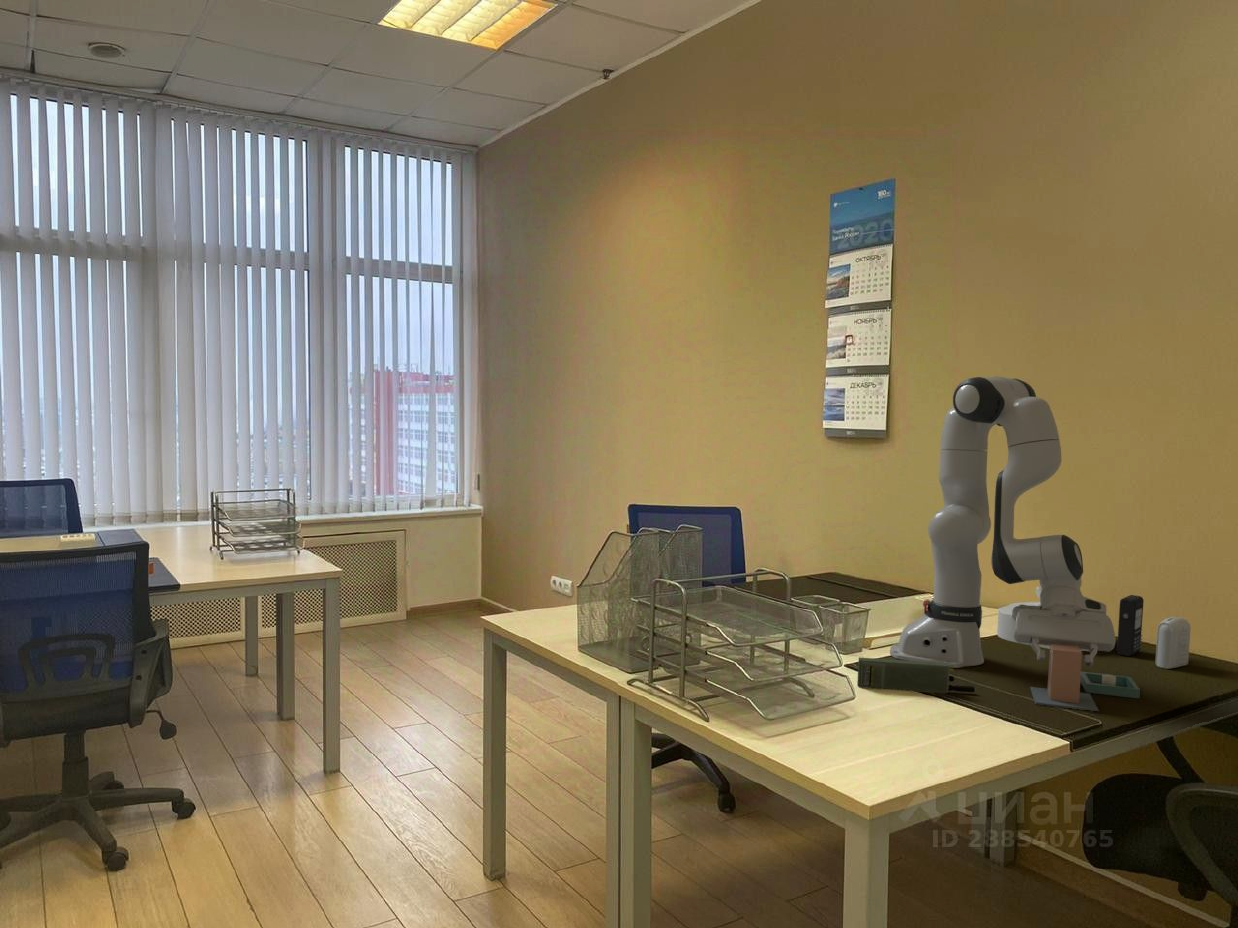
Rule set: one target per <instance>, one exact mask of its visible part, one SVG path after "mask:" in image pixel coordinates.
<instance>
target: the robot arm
mask: <svg viewBox="0 0 1238 928" xmlns="http://www.w3.org/2000/svg"><path fill="white" fill-rule="evenodd" d="M952 405H953V407H952V408H950V409H949V410H948V411H947V412H946V415H945V417H944V421H943V426H942V430H941V436H940V437H941V438H940V450H939V474H938V479H939V483H940V487H941V490H942V491H941V492H942V497H943V508H942V509H940V510H938V511H936V513H935V514H934V515H933V516H932V518H931V520H930V522H929V523H928V527H927V531H928V536H929V539H930V540H931V550H932V551H931V552H932V558H933V564H934V565H933V566H934V578H933V600H930V599H929V598H928V599H924V600H923V602H922V606H923V607H924V609H923V611H924V615H922V616H921V617H920V616H919V618H917V619H915V620H914V621H912V622H910V623H909V624H907V625H906V626H905V627H904V628H903V629H902V632H901V634H900V636H899V641H898V642H897V643H894V644H892V645H891V646H890V649H889V654H890V656H891V657H893V658H895V659H896V660H908V661H924V662H941V663H953V664H954V666H950V668H953V669H954V668H955V669H959V668H964V667H972V666H979V665H982V664H984V663H985V659H984V656H983V652H982V644H981V643H982V642H981V631H980V629H981V626H982V622H983V621H982V619H983V609H982V608H983V607H982V605H981V596H982V595H981V593H982V592H981V591H982V571H981V569H980V561H979V553H978V545H979V544H981V543H982V542H983V541H985V540H986V539H987V537H988V535H989V533H990V532H991V528H992V527H991V526H992V520H991V517H990V506H989V503H990V502H989V494H988V488H987V474H988V472H987V470H988V449H989V447H988V446H989V443H988V441H989V440H988V439H989V433H990V431H991V429H992V428H993V427H994V426H998V427H1002V429H1003V430H1004V432H1005V437H1006V443H1007V445H1006V446H1007V450H1008V451H1007V452H1008V455H1007V456H1008V457H1007V462H1006V465H1005V467H1004V469H1002V470H1001V471H1000V472H999V473H998V475H997V477H996V478H997V479H996V481H995V482H996V484H995V495H994V513H993V515H994V516H993V520H994V521H993V523H994V524H993V539H992V541H993V542H992V552H991V558H990V560H991V561H990V563H991V569H992V571H993V574H994V575H995V576H996V578H998V579H999V580H1001V581H1002V582H1005V583H1006V584H1008V585H1013V584H1020V583H1024V582H1028V581H1039V587H1040V588H1042V591H1041V594H1040V599H1039V602H1040V606H1028V605H1019V606H1016V607H1014V608H1013V610H1012V616H1013V619H1014V620H1015V621H1016V622H1015V629H1014V639H1015V640H1016V641H1017V642H1020V643H1019V644H1021V643H1030V644H1031V645H1030V646H1031V647H1030V648H1031V649H1032V650H1033V652H1034V653H1035V654H1036V660H1037V661H1042V662H1043V661H1045V659H1046V650H1045V649H1044V650H1043V649H1041V647H1039V646H1038V645H1039V644H1040V645H1050V644H1059V645H1069V646H1078V647H1079V648H1080V649H1088V650H1089V651H1088V652H1089V653H1090V654H1085V655H1084V658H1083V659H1084V660H1083V661H1084V666H1087V667H1093V666H1094V658H1095V656H1096V655H1097V653H1098V651H1100V652H1111V651H1112V650H1114V648H1115V645H1116V643H1117V642H1116V640H1117V639H1116V632H1115V629H1114V625H1113V622H1112V619H1111V618H1110V616H1109V615H1107V605H1106V604H1105V603H1104V602H1101V601H1097V600H1094V599H1091V598H1089V597H1086V596H1084V595H1083V593H1082V591H1081V586H1082V583H1083V582H1082V575H1083V574H1084V563H1083V556H1082V551H1081V548H1080V546H1079V544H1078V543H1077V542H1076V541H1074V540H1073V539H1072V538H1071V537H1069V536H1068V535H1065V534H1055V535H1054V534H1053V535H1044V536H1043V535H1042V536H1039V537H1030V538H1021V539H1020V538H1018V539H1017V538H1015V537H1014V533H1015V532H1014V528H1015V526H1014V525H1015V505H1016V503H1017V501H1018V499H1019V498H1020V497H1021V496H1022V495H1023V494H1024V493H1026V492H1028V491H1029V490H1031V489H1033V488H1035V487H1037V486H1039V485H1040V484H1043V483H1044V482H1047V480H1049V479H1051V478H1052V477H1053V476H1054V475H1055V474H1056V472H1058V470H1059V469H1060V468H1061V467H1060V466H1061V465H1062V447H1061V440H1060V435H1059V431H1058V427H1057V423H1056V419H1055V417H1054V414H1053V411H1052V409H1051V407H1050V405H1049V403H1048V402H1047V401H1046V400H1045V399H1044V398H1041V397H1038V396H1036V392H1035V389H1034V388H1033V386H1031V385H1030V384H1029V383H1027V382H1025V381H1024V380H1021V379H1017V378H1009V377H1004V376H1003V377H1002V376H990V377H989V376H988V377H987V376H986V377H982V376H981V377H980V376H977V377H971V378H967V379H965V380H963V381H962V382H960V383H959V384H958V385H957V387H956V388H955V389H954V392H953V397H952Z"/></svg>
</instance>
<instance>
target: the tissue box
mask: <svg viewBox="0 0 1238 928" xmlns="http://www.w3.org/2000/svg"><path fill="white" fill-rule="evenodd" d="M1041 591H1042V588H1041V586H1040V585H1038V586H1036V587H1035V592H1036V596H1037V598H1038V599H1039V600H1040V594H1041ZM1019 605H1028V606H1040V601H1029V602H1026V601H1025V602H1014V603H1010V604H1008V605H1006V606H1003V607H999V608H998V611H997V612H998V613H997V614H998V616H997V629H996V630H997V633H996V634H997V636H998V638H1001V639H1003V640H1006V641H1008V642H1014V643H1017V644H1022V645H1027V646H1031V644H1030V643H1020V642H1017V641H1016V640H1015V639H1014V629H1015V622H1016V621H1015V620H1014V619H1013V616H1012V610H1013V608H1014V607H1016V606H1019ZM1038 646H1039V648H1043V649H1048V650H1050V645H1040V644H1039V645H1038ZM1080 650H1081V651H1087V652H1089V650H1088V649H1080Z"/></svg>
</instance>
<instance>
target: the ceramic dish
mask: <svg viewBox="0 0 1238 928" xmlns="http://www.w3.org/2000/svg"><path fill="white" fill-rule="evenodd" d="M1080 685H1082V688H1083V689H1084V692H1085V693H1088V694H1099V695H1107V696H1115V697H1121V698H1133V699H1140V698H1141V697H1140V695H1141V689H1140V688H1139V686H1138V685H1137V684H1136V682H1135V681H1134V680H1133V678H1132V677H1131V676H1125V675H1115V674H1109V673H1096V672H1089V671H1081V678H1080Z"/></svg>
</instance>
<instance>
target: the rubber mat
mask: <svg viewBox="0 0 1238 928" xmlns="http://www.w3.org/2000/svg"><path fill="white" fill-rule="evenodd" d="M1047 689H1048V688H1043V687H1038V686H1037V687H1035V686H1030V692H1031V696H1032V697H1033V701H1034V703H1035V705H1036V704H1037V705H1038V706H1044V705H1046V706H1045V707H1052V706H1053V707H1054V708H1061V709H1062V708H1063V709H1068V708H1072V709H1071V710H1077V709H1079V710H1078V711H1085V710H1090V711H1089V712H1093V711H1098V712H1099V708H1098V707H1097V704H1096V702H1095V701H1094V699H1093V697H1092V696H1091V693H1088V692H1080V695H1079V703H1072V702H1064V701H1056V700H1050V698H1049V696H1048V693H1047Z"/></svg>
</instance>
